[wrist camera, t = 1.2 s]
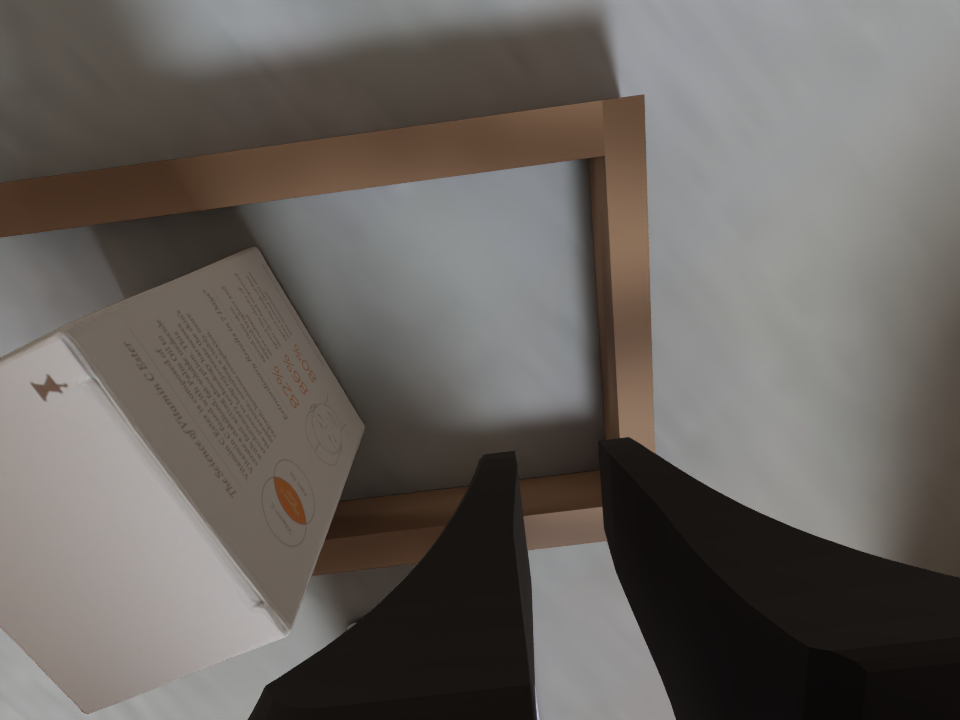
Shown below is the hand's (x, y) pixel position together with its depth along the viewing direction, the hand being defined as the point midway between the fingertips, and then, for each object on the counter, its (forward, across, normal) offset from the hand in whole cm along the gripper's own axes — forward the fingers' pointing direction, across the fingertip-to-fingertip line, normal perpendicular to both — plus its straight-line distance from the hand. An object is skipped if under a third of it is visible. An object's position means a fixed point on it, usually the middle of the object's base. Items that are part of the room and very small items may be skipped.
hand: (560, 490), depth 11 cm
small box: (+11, +10, 0) cm, 15 cm away
